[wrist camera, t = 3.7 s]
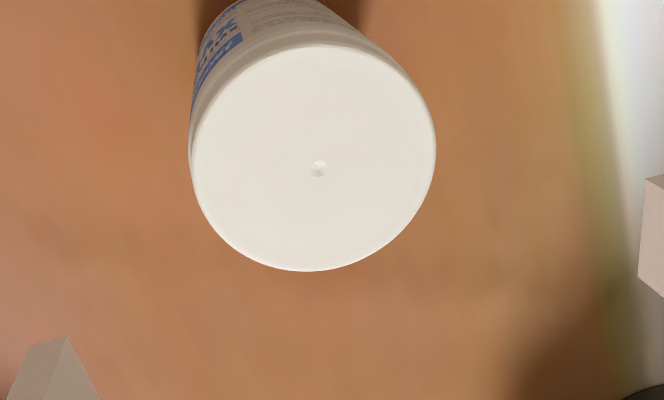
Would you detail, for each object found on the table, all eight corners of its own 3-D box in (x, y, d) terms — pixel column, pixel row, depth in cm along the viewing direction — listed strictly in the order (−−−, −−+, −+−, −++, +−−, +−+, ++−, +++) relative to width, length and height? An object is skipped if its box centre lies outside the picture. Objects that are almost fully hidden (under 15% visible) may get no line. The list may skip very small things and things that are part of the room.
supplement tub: (189, -13, 31) (170, 29, 18) (359, -11, 32) (456, 27, 19) (203, 154, 35) (196, 287, 22) (352, 147, 36) (429, 267, 23)
